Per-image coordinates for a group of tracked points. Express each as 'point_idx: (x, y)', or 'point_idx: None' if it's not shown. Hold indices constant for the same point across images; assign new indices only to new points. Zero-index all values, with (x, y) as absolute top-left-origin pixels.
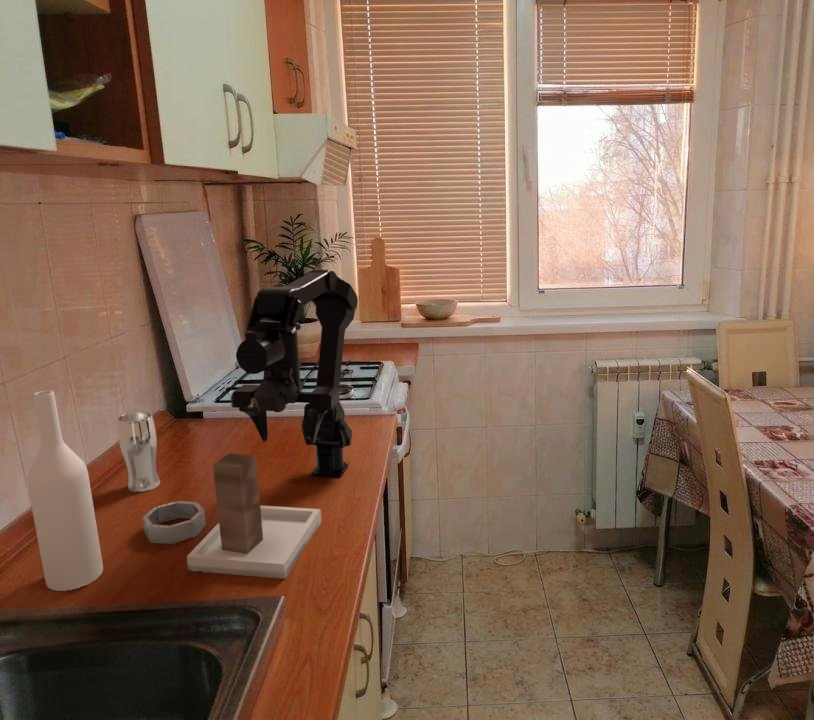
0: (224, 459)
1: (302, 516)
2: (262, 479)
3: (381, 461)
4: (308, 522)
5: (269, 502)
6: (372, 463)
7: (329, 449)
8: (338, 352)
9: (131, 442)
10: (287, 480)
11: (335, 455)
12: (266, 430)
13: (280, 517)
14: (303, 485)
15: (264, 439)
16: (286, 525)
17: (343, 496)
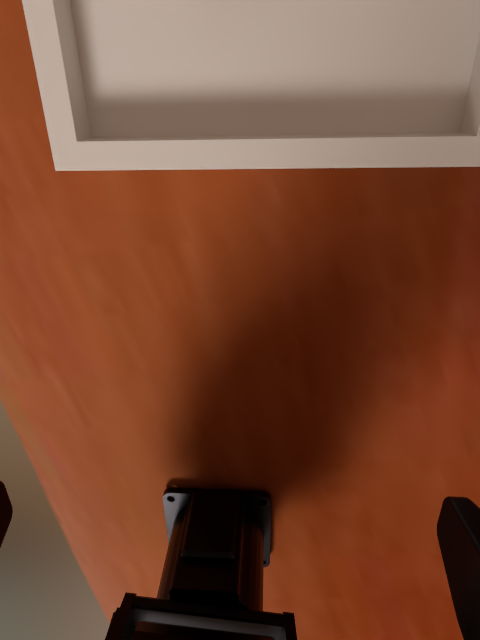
0: None
1: (141, 137)
2: (443, 458)
3: (87, 576)
4: (40, 9)
5: (362, 297)
6: (108, 565)
7: (181, 585)
8: None
9: None
10: (345, 457)
11: (173, 565)
12: (471, 626)
13: (250, 130)
14: (273, 429)
15: (457, 511)
16: (189, 51)
17: (96, 369)
